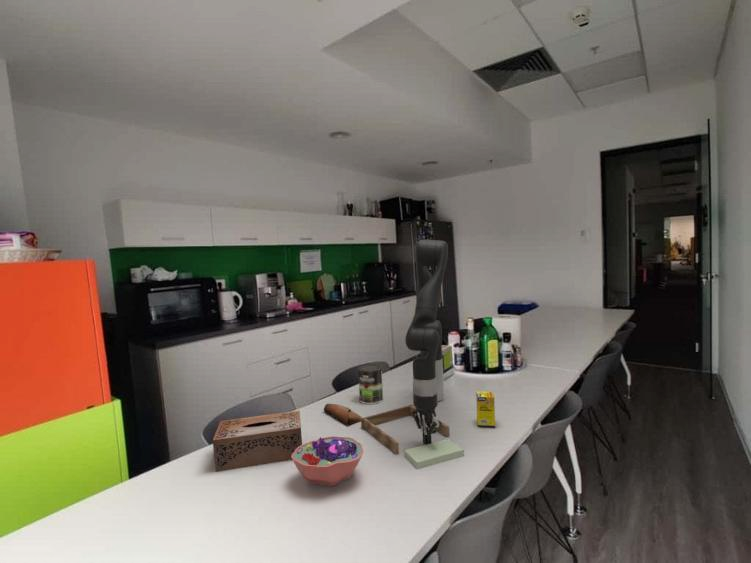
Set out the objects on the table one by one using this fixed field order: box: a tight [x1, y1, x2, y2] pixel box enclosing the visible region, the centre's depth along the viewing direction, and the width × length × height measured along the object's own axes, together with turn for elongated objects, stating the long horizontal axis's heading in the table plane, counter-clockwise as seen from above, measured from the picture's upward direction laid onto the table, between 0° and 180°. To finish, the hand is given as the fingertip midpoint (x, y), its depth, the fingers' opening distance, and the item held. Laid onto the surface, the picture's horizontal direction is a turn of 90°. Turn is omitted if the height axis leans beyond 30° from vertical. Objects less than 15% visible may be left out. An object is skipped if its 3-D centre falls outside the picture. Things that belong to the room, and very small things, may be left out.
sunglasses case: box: [323, 403, 363, 427], centre depth 154 cm, size 18×7×7 cm, turn 37°
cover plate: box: [404, 438, 465, 470], centre depth 120 cm, size 8×16×2 cm, turn 112°
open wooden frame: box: [360, 404, 450, 455], centre depth 138 cm, size 23×22×4 cm
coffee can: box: [357, 364, 384, 405], centre depth 169 cm, size 10×10×14 cm
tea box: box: [442, 344, 454, 382], centre depth 195 cm, size 15×10×15 cm
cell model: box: [291, 436, 365, 487], centre depth 111 cm, size 17×20×11 cm
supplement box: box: [475, 390, 496, 429], centre depth 140 cm, size 6×6×11 cm
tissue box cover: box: [212, 410, 303, 473], centre depth 127 cm, size 26×14×10 cm, turn 103°
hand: (427, 444), depth 126 cm, fingers closed
